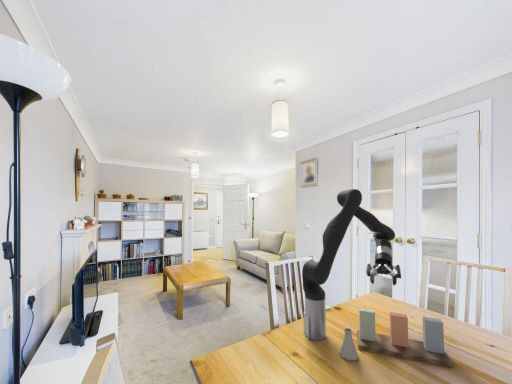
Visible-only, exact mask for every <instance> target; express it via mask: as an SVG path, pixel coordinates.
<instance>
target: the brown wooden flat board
mask: <svg viewBox="0 0 512 384" xmlns="http://www.w3.org/2000/svg"><path fill="white" fill-rule="evenodd" d="M375 335H376V342H374V341H369V340H363V339H360V329H359V330H358V329H356V339H357V347H358V350H360V351H366V352H370V353H376V354H381V355H385V356H391V357H397V358H401V359H407V360H411V361H415V362H417V361H418V362H421V363H426V364H427V363H428V364H431V365H437V366H442V367H446V368H452V369H453V367H454V365H453V364H454V363H453V361H452V360H451V358H450V357H449V355H448V353H447V352H446V351H445V350H444V354H440V353H435V352H429V351H426V350H425V348H424V342H423V341H422V340H418V339H411V338H408V346H409V348H407V347H402V346H396V345H392V344H391V341H390V335H387V334H382V333H381V334H380V333H377V332H375Z"/></svg>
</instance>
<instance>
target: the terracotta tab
mask: <svg viewBox="0 0 512 384" xmlns="http://www.w3.org/2000/svg"><path fill="white" fill-rule="evenodd" d="M408 318H409V317H408V316H407V314H406V313H399V312H391V311H390V312H389V336H390V341H391V344H392V345H396V346H402V347H407V348H409V346H408V339H409V323H408V322H409V320H408Z"/></svg>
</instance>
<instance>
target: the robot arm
mask: <svg viewBox="0 0 512 384" xmlns="http://www.w3.org/2000/svg"><path fill="white" fill-rule="evenodd" d="M336 201H337V204H339V206H340V207H342V208H341V210H340V211H339V212H338V213H336V215H335V216H334V217H333V218H332V219H331V220H330V221H329V222H328V224H327V225H326V227H325V229H324V231H323V233H322V247H323V249H322V254H321V257H320V259H319V260H318V262H317V261H315V260H307V261H305V262H304V264H303V266H302V269H301V270H302V272H301V275H302V278H301V279H302V289H303V291H304V311H303V333H304V335H305V336H306V337H307V339H308V340H313V341H322V340H325V339H326V336H327V330H326V329H327V328H326V327H327V326H326V318H327V317H326V292H325V290H324V289H323V288H322V285H324V284H325V283H326V282H327V281H328V279H329V277H330V274H331V271H332V267H333V265H334V264H333V263H334V261H335V259H336V256H337V254H338V250H339V248H340V246H341V244H342V242H343V240H344V238H345V235H346V232H347V230H348V228H349V226H350V225H351V222H352V219H353V218H354V217H355V218H357V219H358V220H359V221H360V222H361V223H362V224H363V225H365V227H366V228H367V229H368V230H369V231H370V232H372V234H373V239H374V241H375V247H376V248H375V252H374V253H375V255H374V264H372V265H371V263H367V265H366V270H365V271H366V276H367V277H369V281H370V283H371V284H372V285H374V284H375V277H376V276H378V275H389V277H392V286H396V285H397V283H398V282H397V281H398V280H397V279H402V273H401V267H400V265H399V264H396V265H393V252H392V243H391V241H393V240H394V239H395V238H396V233H395V231H394V230H393V228H391V227H390V226H388V225H386V224H384V222H381V221H380V220H379V219H378V218H377V217H376V215H374V214H373V213H371V211H368V210H366V209H364V208H363V207H361V204H362V201H363V194H362V192H361V191H360V190H359V189H355V188H351V189H344V190H341V191H339V192H338V193H337V196H336ZM394 270H395V271H396V272H397V273H395V272H394Z"/></svg>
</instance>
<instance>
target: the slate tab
mask: <svg viewBox="0 0 512 384" xmlns="http://www.w3.org/2000/svg"><path fill="white" fill-rule="evenodd" d="M422 333H423V335H422V337H423V338H422V339H423V342H424V348H425V350H426V351H429V352H435V353H440V354H444V351H445V336H444V335H445V333H444V322H443V320H442V319H440V318H437V317H436V318H435V317H434V318H433V317H427V316H422Z"/></svg>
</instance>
